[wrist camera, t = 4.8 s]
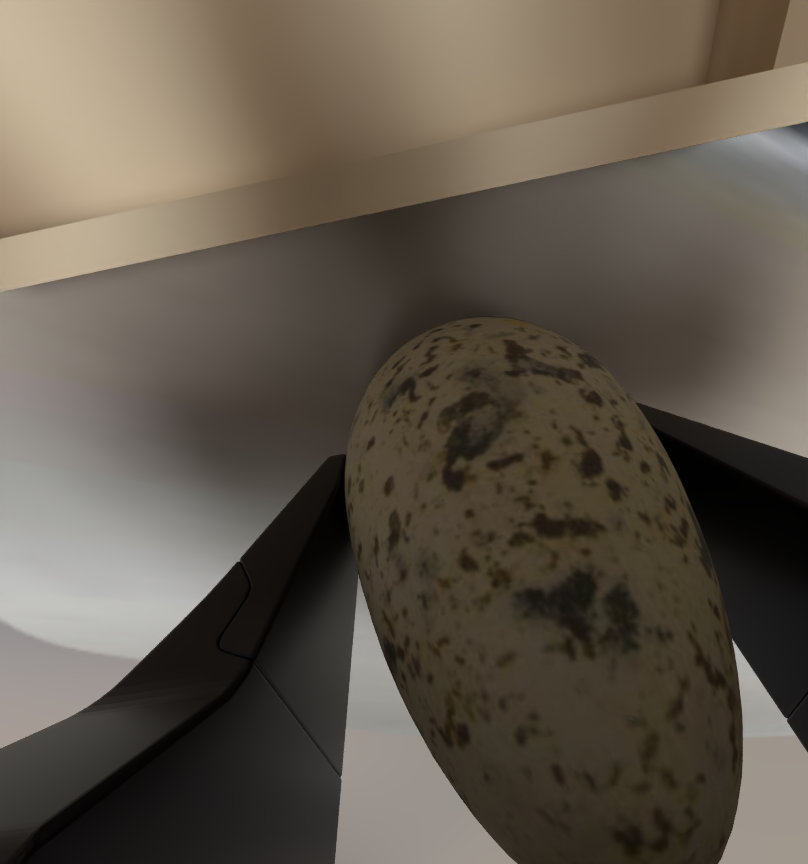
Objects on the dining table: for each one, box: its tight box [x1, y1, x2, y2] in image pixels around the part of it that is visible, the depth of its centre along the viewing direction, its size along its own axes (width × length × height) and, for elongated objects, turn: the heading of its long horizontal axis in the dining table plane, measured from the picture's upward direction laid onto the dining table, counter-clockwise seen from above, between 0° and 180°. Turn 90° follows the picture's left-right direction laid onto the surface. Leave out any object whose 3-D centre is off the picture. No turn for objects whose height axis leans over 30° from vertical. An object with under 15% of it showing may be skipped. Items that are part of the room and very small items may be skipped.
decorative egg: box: [345, 317, 743, 864], centre depth 8 cm, size 6×6×10 cm
